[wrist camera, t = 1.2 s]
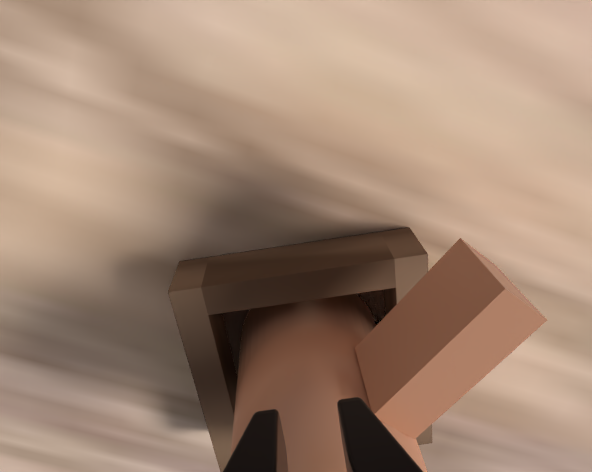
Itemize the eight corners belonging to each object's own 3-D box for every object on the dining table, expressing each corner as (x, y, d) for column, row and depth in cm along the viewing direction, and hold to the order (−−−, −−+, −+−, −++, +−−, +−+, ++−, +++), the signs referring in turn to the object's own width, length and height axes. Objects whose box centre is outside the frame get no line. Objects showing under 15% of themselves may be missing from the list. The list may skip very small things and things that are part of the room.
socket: (416, 403, 23) (432, 442, 21) (225, 430, 23) (221, 473, 21) (409, 227, 19) (427, 254, 17) (179, 261, 19) (168, 292, 17)
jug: (319, 409, 23) (348, 625, 15) (214, 351, 21) (180, 560, 13) (483, 241, 20) (640, 399, 11) (375, 157, 18) (466, 272, 10)
